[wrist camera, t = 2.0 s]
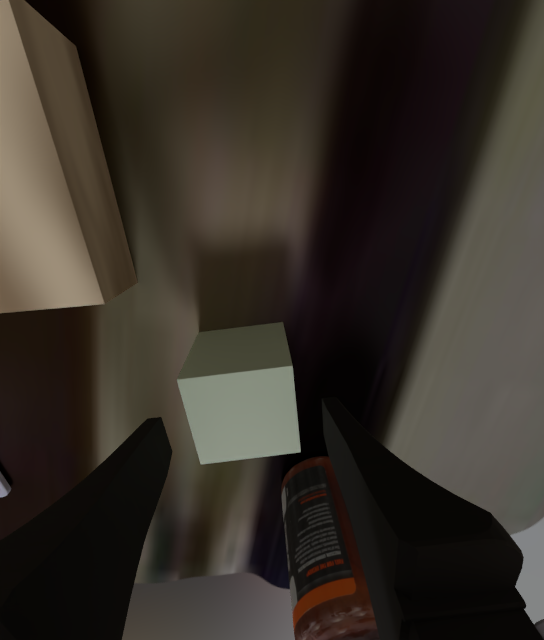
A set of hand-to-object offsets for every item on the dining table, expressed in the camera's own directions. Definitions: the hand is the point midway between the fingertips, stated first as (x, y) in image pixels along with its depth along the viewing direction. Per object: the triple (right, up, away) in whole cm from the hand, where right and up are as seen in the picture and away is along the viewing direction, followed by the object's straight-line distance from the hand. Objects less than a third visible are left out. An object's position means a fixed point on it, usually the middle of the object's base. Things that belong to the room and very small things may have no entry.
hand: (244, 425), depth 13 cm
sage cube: (0, +2, +5) cm, 6 cm away
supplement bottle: (+5, -8, +9) cm, 13 cm away
